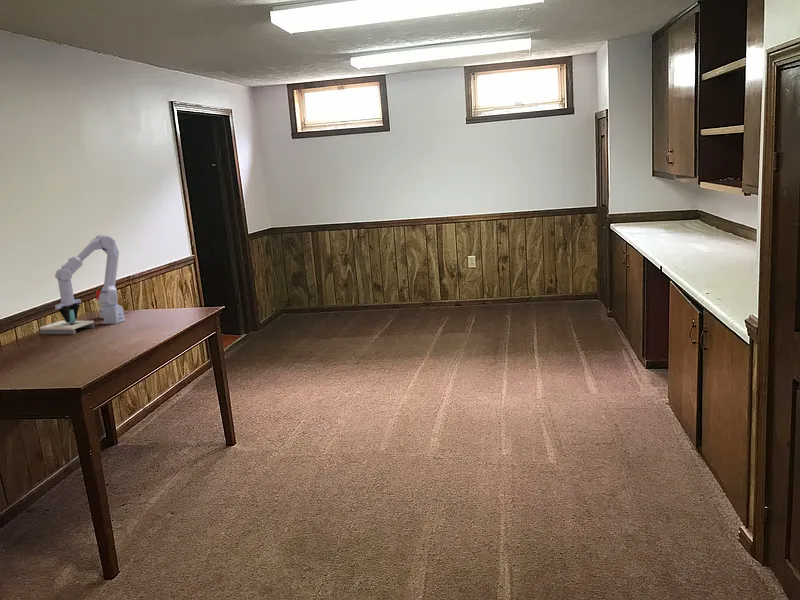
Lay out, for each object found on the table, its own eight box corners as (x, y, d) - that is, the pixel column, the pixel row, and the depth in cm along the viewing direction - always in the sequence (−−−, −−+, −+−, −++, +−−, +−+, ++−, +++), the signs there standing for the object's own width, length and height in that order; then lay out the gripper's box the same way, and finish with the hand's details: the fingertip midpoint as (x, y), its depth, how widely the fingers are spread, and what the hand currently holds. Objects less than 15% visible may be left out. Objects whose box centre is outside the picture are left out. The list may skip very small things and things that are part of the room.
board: (94, 327, 339) (93, 320, 339) (73, 334, 326) (72, 327, 326) (62, 326, 346) (61, 320, 345) (40, 333, 333) (39, 327, 332)
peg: (79, 328, 336) (76, 309, 334) (72, 330, 332) (68, 311, 330) (72, 327, 338) (69, 309, 336) (65, 330, 334) (62, 311, 332)
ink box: (119, 315, 365) (115, 288, 362) (114, 317, 360) (110, 290, 357) (104, 316, 366) (100, 289, 363) (99, 318, 361) (95, 291, 358)
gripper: (71, 290, 340) (75, 317, 342) (48, 296, 326) (53, 324, 329) (82, 290, 337) (87, 317, 340) (60, 296, 324) (64, 324, 326)
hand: (71, 320), depth 334 cm, fingers closed on peg, 4 cm apart
